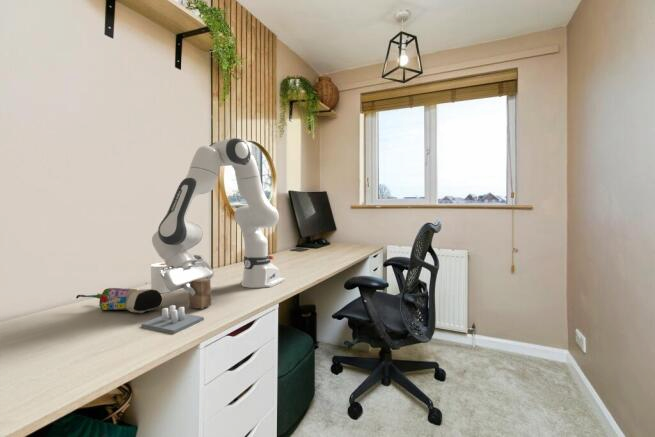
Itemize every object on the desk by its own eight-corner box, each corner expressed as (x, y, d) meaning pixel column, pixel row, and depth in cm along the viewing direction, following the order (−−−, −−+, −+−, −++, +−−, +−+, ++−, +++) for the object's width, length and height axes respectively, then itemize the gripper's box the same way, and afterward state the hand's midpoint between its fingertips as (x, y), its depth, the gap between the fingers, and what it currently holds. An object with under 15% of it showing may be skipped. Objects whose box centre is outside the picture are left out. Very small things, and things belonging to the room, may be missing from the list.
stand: (173, 314, 107) (172, 300, 107) (203, 319, 102) (203, 305, 101) (141, 326, 96) (141, 311, 95) (174, 333, 91) (173, 317, 90)
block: (198, 302, 117) (198, 277, 117) (210, 304, 115) (210, 279, 114) (189, 306, 113) (188, 280, 112) (201, 308, 111) (201, 282, 110)
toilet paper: (181, 288, 140) (181, 262, 140) (164, 294, 130) (164, 266, 130) (163, 286, 143) (162, 261, 142) (145, 292, 133) (144, 265, 132)
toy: (59, 318, 104) (130, 321, 97) (59, 292, 105) (129, 294, 98) (119, 302, 127) (180, 303, 120) (119, 281, 127) (179, 281, 120)
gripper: (161, 264, 106) (183, 294, 103) (204, 254, 125) (224, 280, 122) (153, 275, 108) (173, 305, 105) (196, 264, 127) (215, 289, 124)
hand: (201, 291), depth 113 cm, fingers closed on block, 4 cm apart
